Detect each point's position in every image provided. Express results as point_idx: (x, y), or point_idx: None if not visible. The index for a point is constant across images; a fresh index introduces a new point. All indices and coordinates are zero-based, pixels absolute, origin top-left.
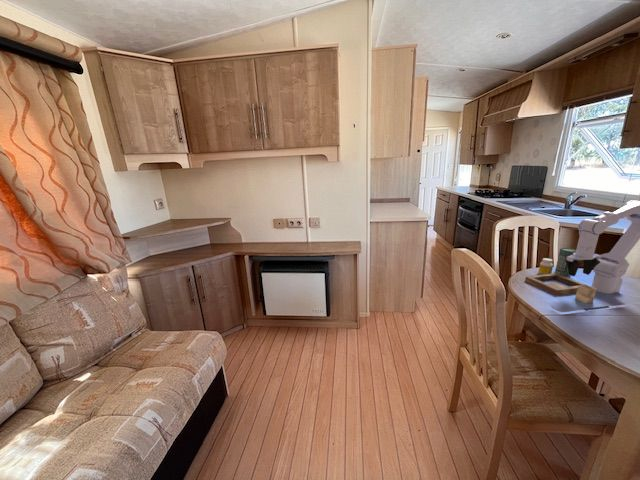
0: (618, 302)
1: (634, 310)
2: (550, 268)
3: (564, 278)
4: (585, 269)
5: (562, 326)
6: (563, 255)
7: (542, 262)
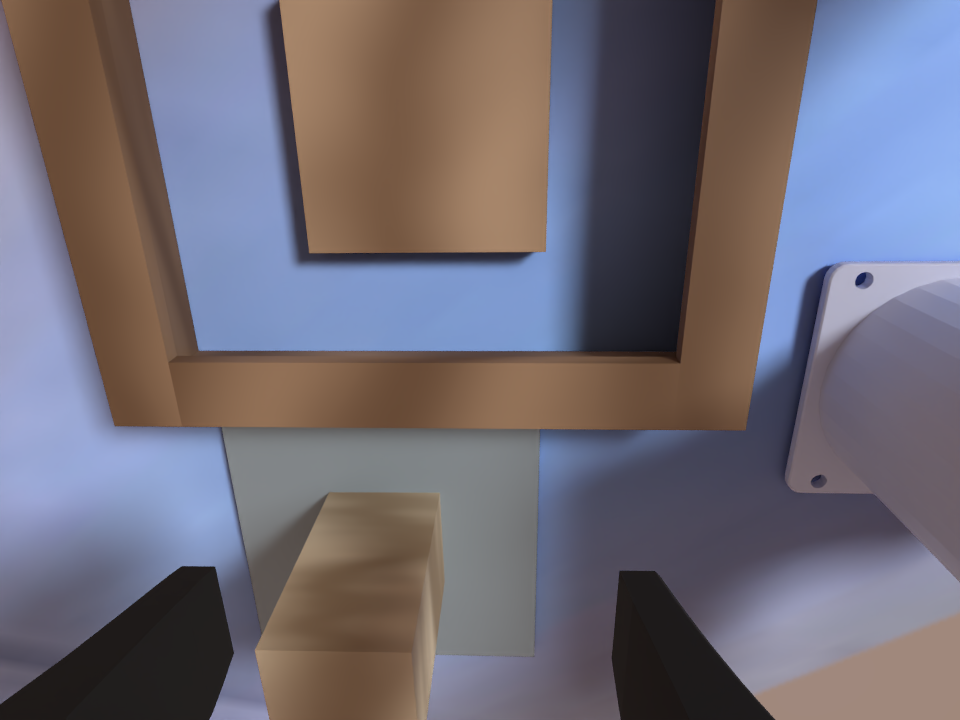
0: (756, 600)
1: None
2: None
3: (719, 20)
4: (647, 695)
5: None
6: None
7: None
